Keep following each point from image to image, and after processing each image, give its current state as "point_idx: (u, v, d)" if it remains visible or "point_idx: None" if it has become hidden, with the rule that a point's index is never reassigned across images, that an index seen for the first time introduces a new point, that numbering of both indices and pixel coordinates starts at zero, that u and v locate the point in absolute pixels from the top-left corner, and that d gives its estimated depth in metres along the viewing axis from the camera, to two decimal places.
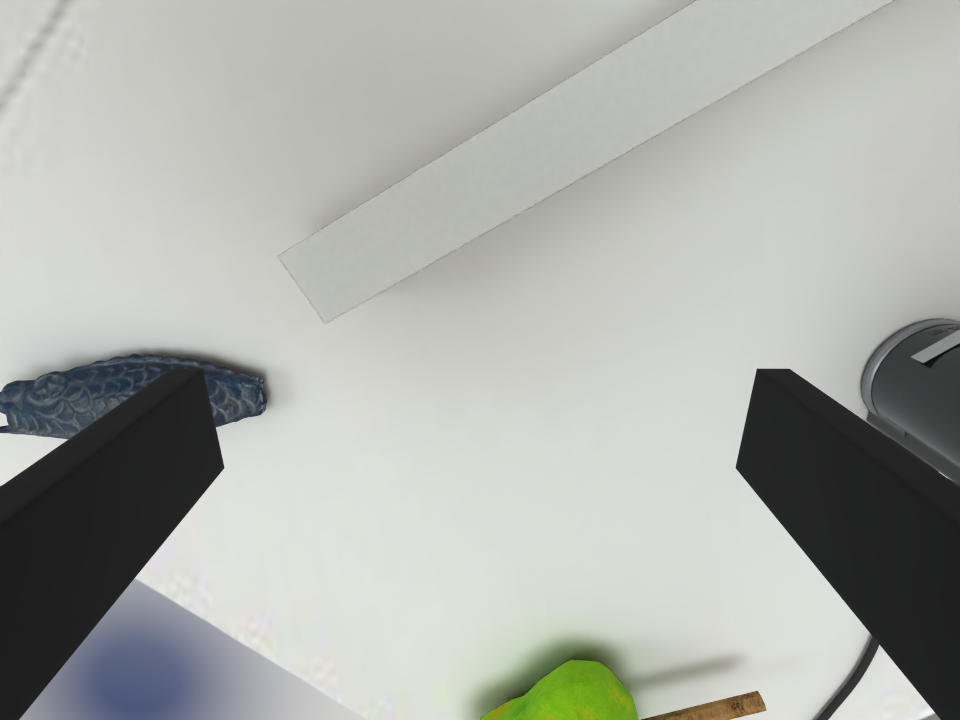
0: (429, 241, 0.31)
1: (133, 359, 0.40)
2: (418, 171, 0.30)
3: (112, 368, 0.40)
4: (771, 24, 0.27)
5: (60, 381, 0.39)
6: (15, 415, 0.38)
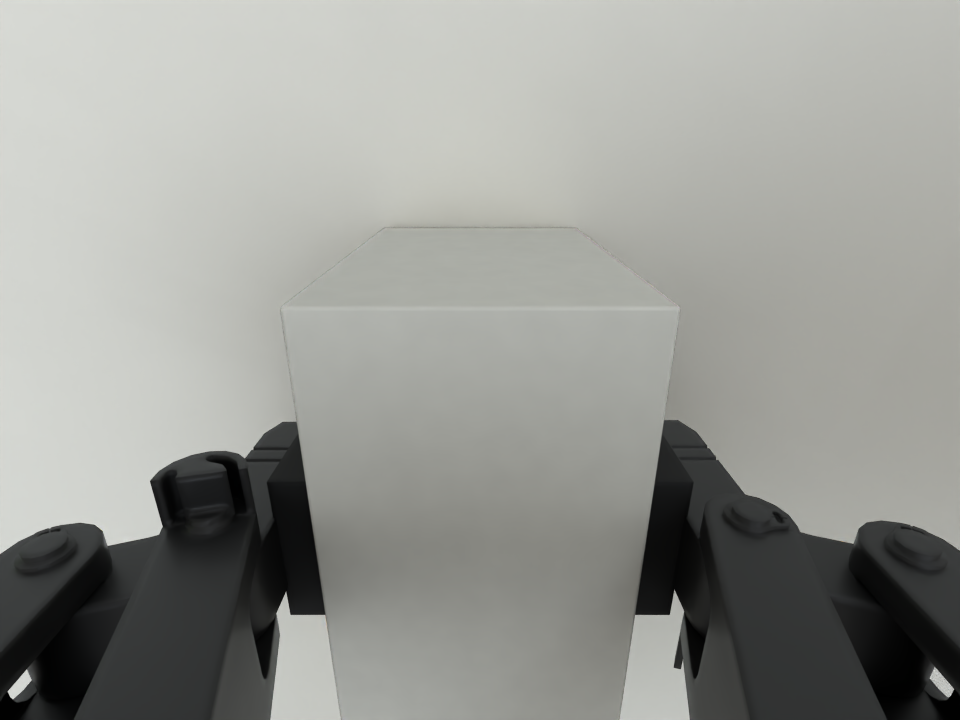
0: None
1: None
2: None
3: None
4: None
5: None
6: None
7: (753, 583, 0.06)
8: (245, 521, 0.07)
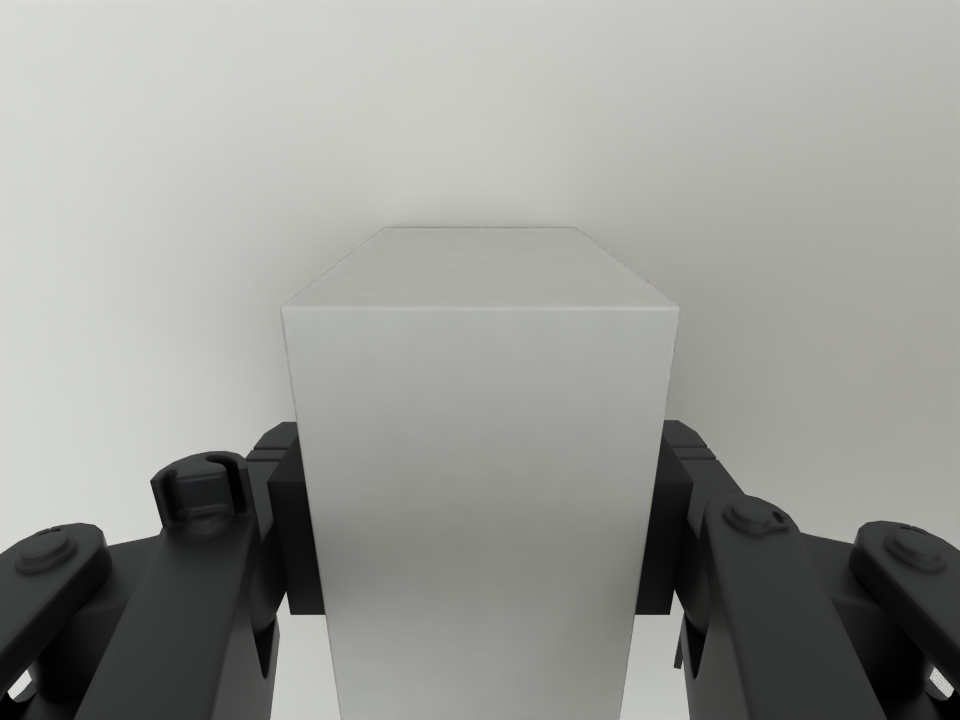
0: None
1: None
2: None
3: None
4: None
5: None
6: None
7: (753, 583, 0.06)
8: (245, 521, 0.07)
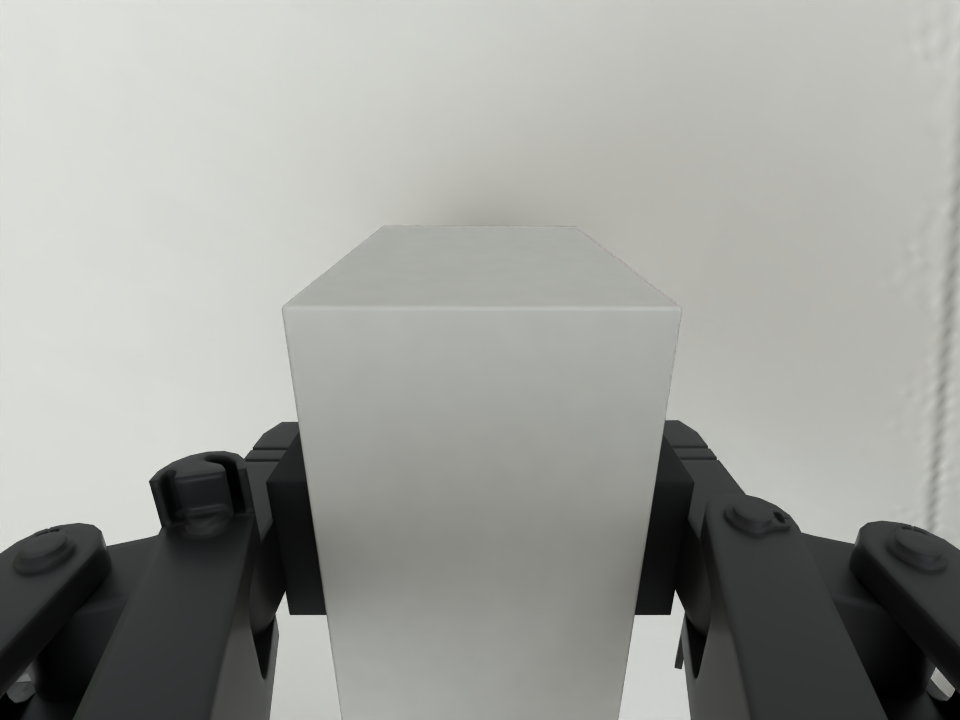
0: None
1: None
2: None
3: None
4: None
5: None
6: None
7: (754, 583, 0.06)
8: (244, 521, 0.07)
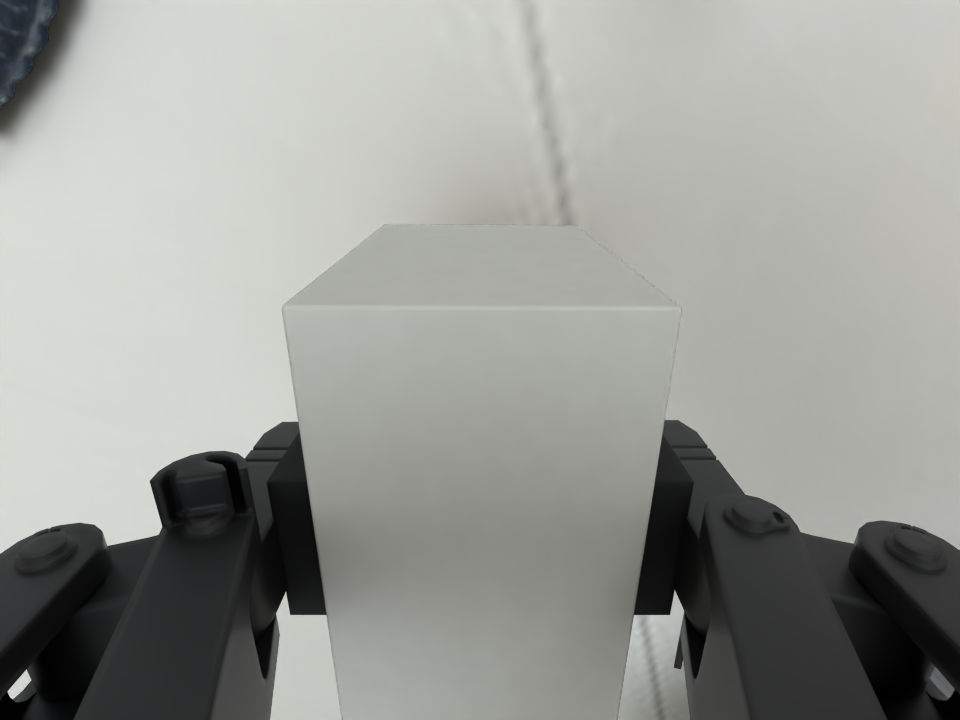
0: None
1: None
2: None
3: None
4: None
5: None
6: None
7: (753, 583, 0.06)
8: (245, 521, 0.07)
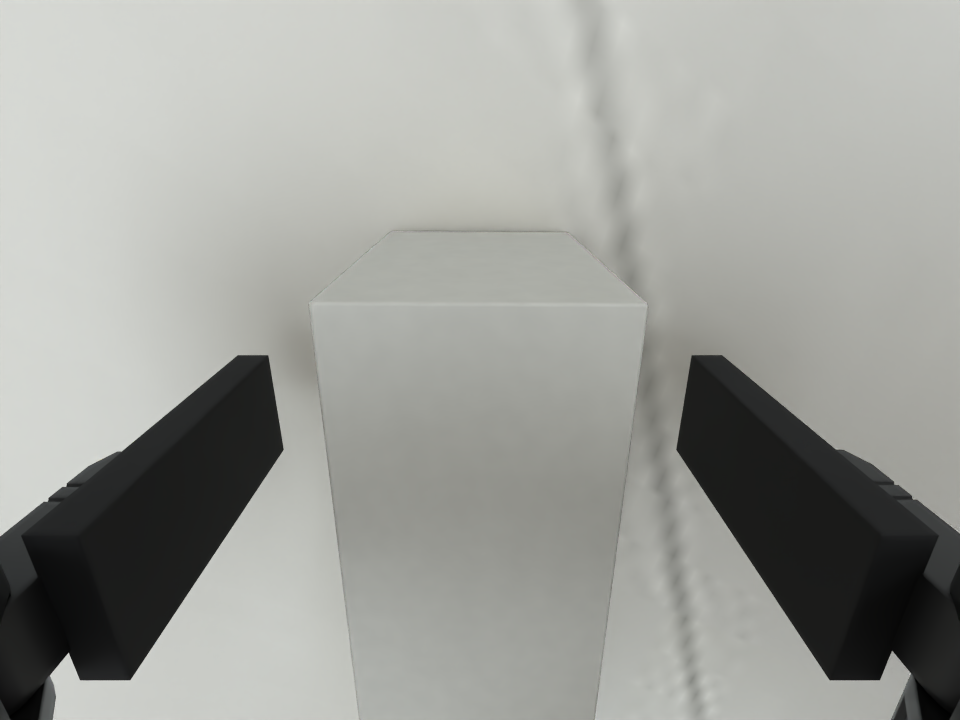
0: (415, 704, 0.11)
1: None
2: None
3: None
4: None
5: None
6: None
7: None
8: None
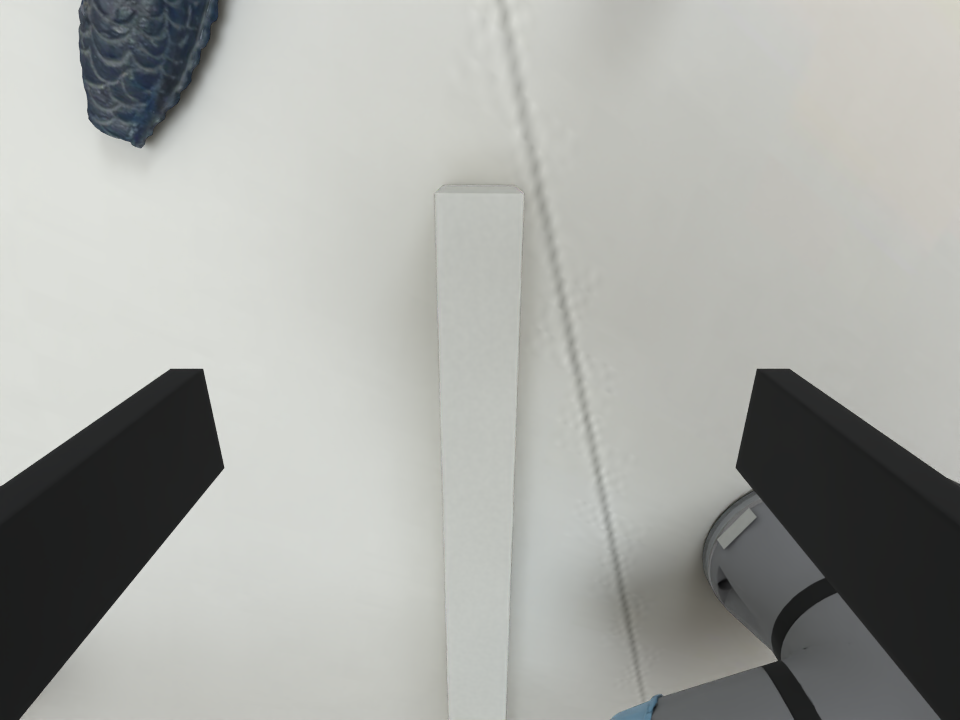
0: (458, 339, 0.32)
1: (208, 15, 0.30)
2: (517, 362, 0.32)
3: None
4: (471, 601, 0.40)
5: None
6: None
7: None
8: None
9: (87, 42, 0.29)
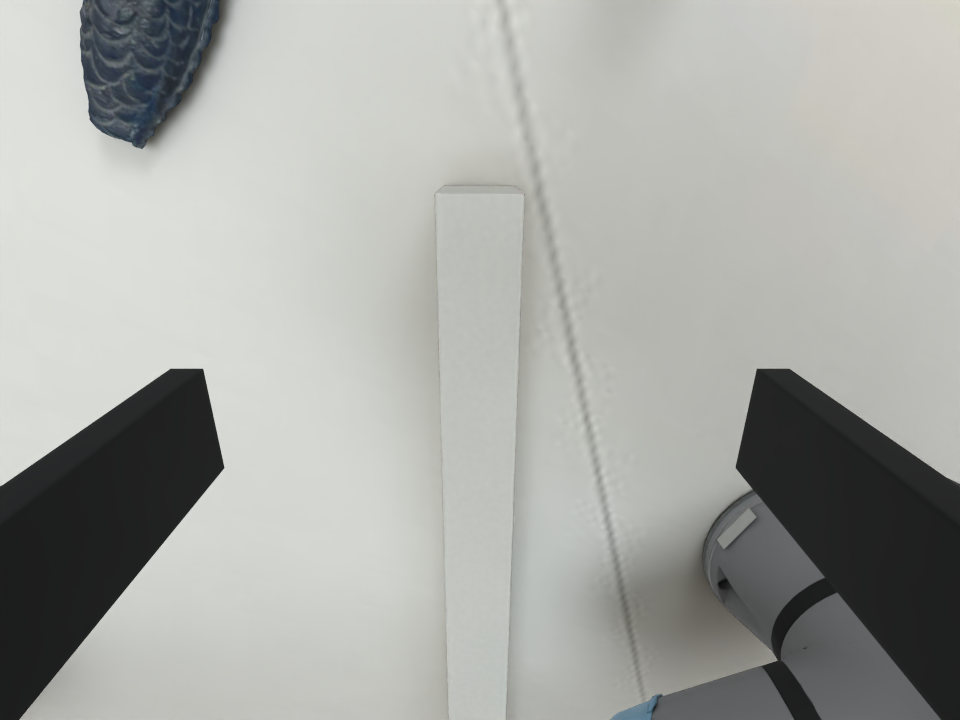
0: (458, 339, 0.32)
1: (209, 16, 0.30)
2: (517, 362, 0.32)
3: None
4: (472, 601, 0.40)
5: None
6: None
7: None
8: None
9: (88, 43, 0.29)
